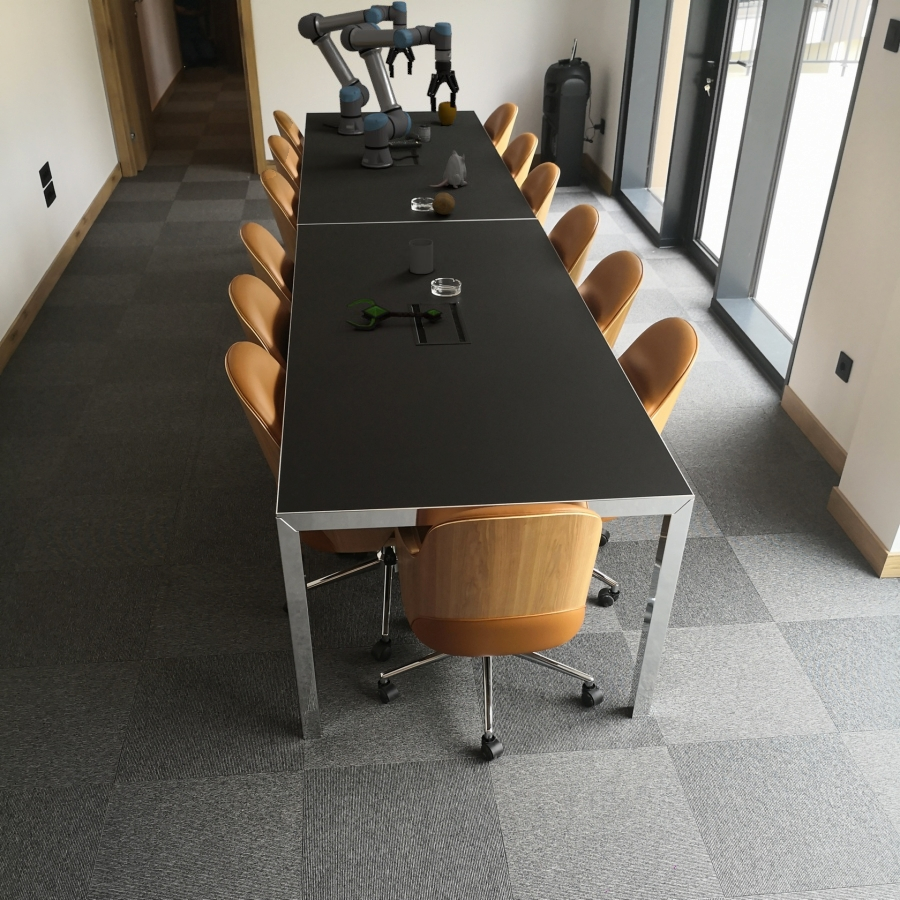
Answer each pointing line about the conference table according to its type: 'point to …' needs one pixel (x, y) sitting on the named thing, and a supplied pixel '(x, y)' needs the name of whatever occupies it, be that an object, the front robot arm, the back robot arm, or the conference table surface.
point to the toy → (454, 171)
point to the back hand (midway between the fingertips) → (400, 76)
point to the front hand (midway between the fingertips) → (443, 109)
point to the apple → (446, 113)
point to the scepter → (389, 314)
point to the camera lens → (424, 133)
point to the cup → (421, 256)
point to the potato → (443, 203)
